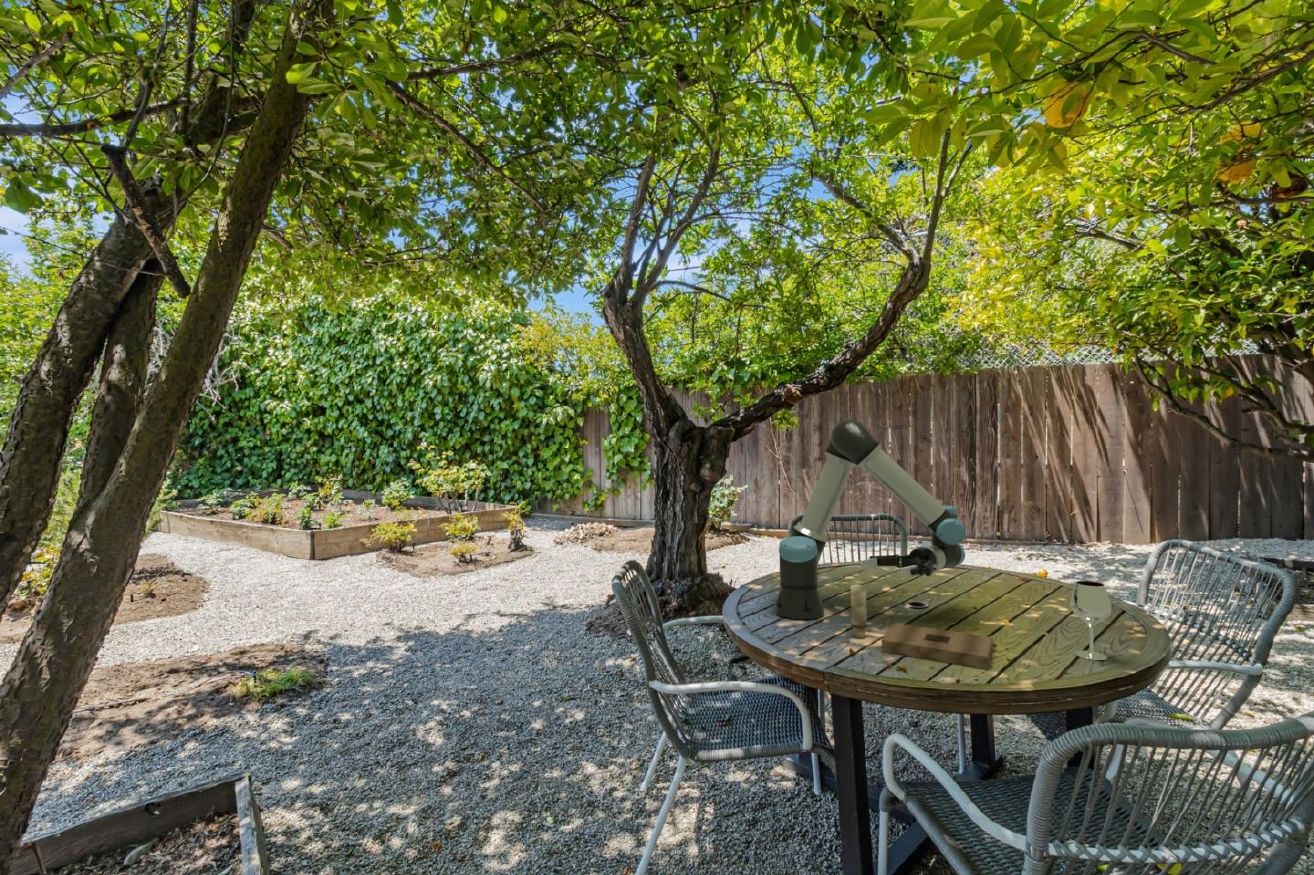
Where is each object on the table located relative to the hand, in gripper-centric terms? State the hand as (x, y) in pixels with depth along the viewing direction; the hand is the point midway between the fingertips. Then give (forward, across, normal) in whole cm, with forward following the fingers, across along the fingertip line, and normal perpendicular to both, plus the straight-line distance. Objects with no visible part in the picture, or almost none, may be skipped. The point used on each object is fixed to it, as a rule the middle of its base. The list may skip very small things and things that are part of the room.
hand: (880, 569), depth 170 cm
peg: (+10, 0, -17) cm, 20 cm away
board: (+2, -18, -18) cm, 25 cm away
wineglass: (-24, -42, -18) cm, 52 cm away
